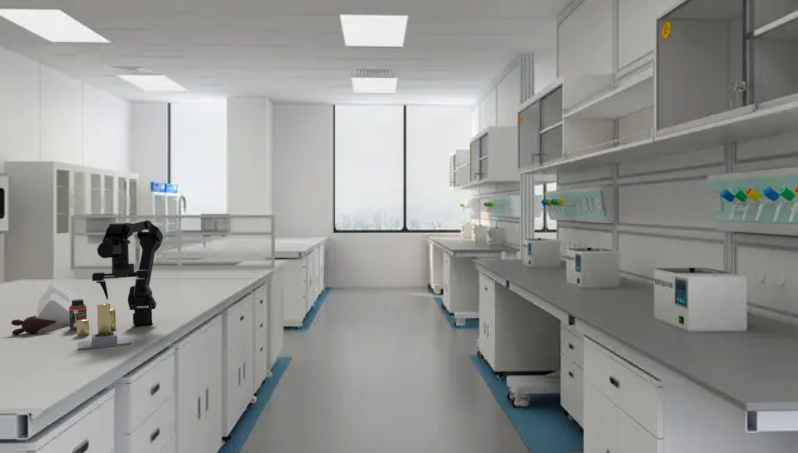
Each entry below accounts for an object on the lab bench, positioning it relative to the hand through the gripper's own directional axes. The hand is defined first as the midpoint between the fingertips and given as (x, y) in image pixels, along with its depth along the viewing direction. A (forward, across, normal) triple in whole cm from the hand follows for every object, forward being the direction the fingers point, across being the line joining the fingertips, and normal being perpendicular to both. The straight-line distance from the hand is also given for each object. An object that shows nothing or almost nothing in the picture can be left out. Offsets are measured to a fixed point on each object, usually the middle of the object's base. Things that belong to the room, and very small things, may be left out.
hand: (121, 298), depth 216 cm
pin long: (+13, -6, -16) cm, 21 cm away
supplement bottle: (+13, -15, +20) cm, 28 cm away
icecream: (+13, -30, +20) cm, 38 cm away
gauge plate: (+13, -6, -16) cm, 21 cm away
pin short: (+13, -13, +5) cm, 19 cm away
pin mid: (+13, -4, +9) cm, 16 cm away
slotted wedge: (+13, -23, +37) cm, 46 cm away
